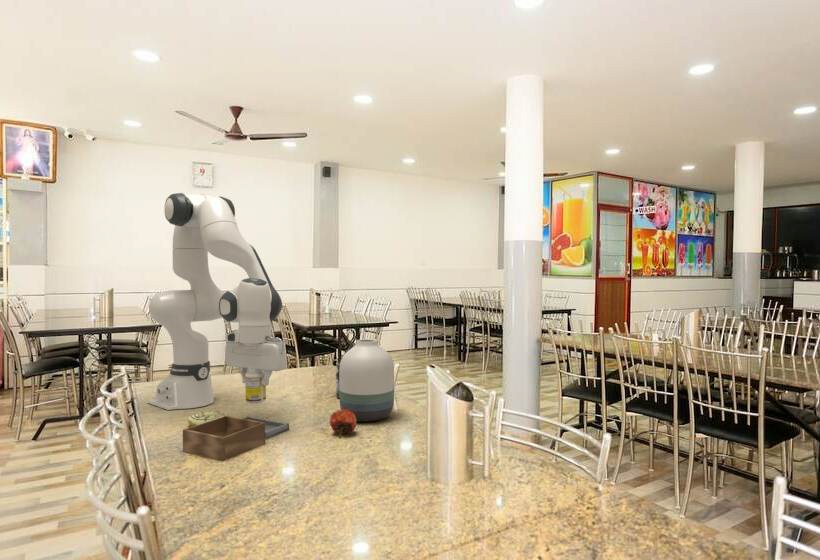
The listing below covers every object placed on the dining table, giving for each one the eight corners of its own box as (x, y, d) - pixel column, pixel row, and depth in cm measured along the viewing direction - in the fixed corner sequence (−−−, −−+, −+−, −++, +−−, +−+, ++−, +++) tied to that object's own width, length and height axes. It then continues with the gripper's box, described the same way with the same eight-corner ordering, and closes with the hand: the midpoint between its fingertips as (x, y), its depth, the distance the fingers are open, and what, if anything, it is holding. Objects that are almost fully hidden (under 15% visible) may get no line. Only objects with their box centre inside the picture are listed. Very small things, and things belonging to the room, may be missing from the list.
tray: (221, 431, 147) (221, 425, 147) (247, 422, 156) (247, 416, 156) (264, 440, 139) (264, 433, 139) (289, 429, 148) (289, 423, 148)
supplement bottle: (258, 398, 151) (258, 363, 151) (269, 401, 148) (269, 365, 147) (241, 401, 147) (241, 366, 147) (252, 405, 143) (252, 368, 143)
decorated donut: (202, 434, 145) (201, 421, 145) (180, 427, 151) (180, 414, 151) (233, 425, 153) (233, 412, 153) (212, 418, 160) (212, 406, 160)
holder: (182, 451, 131) (182, 429, 131) (226, 435, 143) (226, 415, 143) (223, 461, 124) (223, 438, 124) (265, 443, 137) (265, 422, 137)
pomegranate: (355, 445, 142) (363, 415, 149) (346, 429, 137) (355, 399, 145) (330, 446, 144) (340, 416, 151) (321, 430, 140) (331, 400, 147)
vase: (401, 412, 166) (401, 338, 166) (381, 428, 150) (381, 345, 150) (353, 408, 172) (353, 335, 171) (329, 422, 156) (329, 342, 155)
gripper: (291, 336, 145) (291, 385, 145) (237, 332, 154) (238, 378, 155) (275, 339, 139) (275, 390, 140) (221, 335, 149) (221, 382, 149)
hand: (255, 384), depth 147 cm, fingers closed on supplement bottle, 5 cm apart
